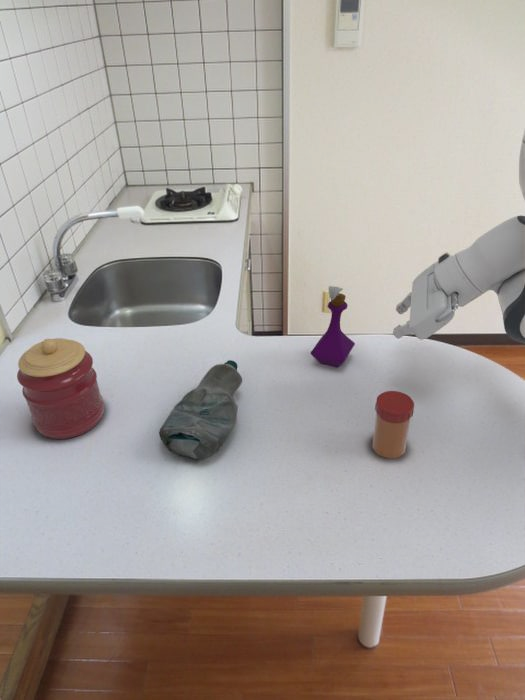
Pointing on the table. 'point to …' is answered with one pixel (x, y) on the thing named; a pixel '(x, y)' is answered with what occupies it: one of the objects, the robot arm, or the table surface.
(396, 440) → the jam jar
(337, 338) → the purple potion bottle
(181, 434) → the crushed plastic bottle
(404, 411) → the jar lid
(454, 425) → the table surface
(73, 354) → the kitchen canister
